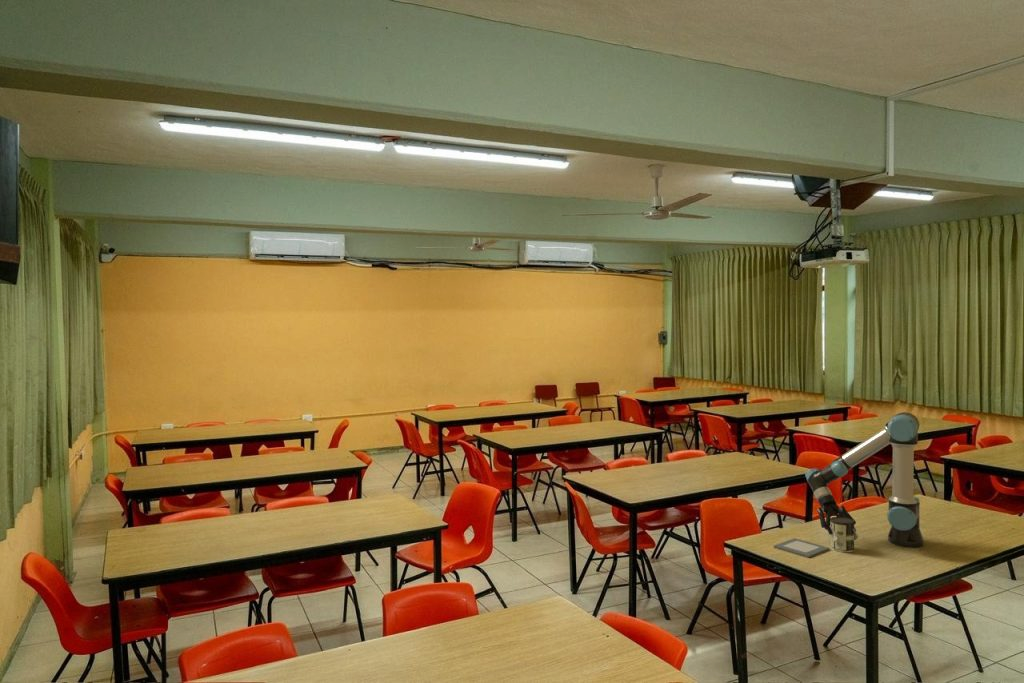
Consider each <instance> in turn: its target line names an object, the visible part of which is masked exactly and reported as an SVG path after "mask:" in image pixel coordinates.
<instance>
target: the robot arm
mask: <svg viewBox="0 0 1024 683" xmlns="http://www.w3.org/2000/svg"><path fill="white" fill-rule="evenodd" d="M919 428H920V421H919V419H918V418H917V416H915V414H912V413H910V412H899V413H897V414H896V415H894V416H893V417H891V419H889V421H888V422H886V423H885V424H884V427H883V428H881V429H880V430H878V431H877V432H876V433H874V434H871V436H869V437H868V438H866V439H864V440H863V441H861V442H860V443H858V444H857V445H856V446H854V447H852V448H851V449H850V450H849V449H848V451H846V452H845V453H843V454H842V455H840V456H839V457H837V458H834V460H832V461H831V462H830V463H829V464H828V465H827V466H824V467H823V468H821V469H819V468H816V467H815V468H812V469H809V470H806V472H805V474H804V475H805V478H806V481H807V483H808V485H809V486H810V489H811V490H812V492H813V494H814V497H815V499H816V500H817V502H818V504H819V506H820V507H819V508H817V509H816V511H817V514H818V516H819V521H820V525H821V528H823V529H824V530H827V532H828V534H829V535H830V537H831V536H832V538H833V540H834V542H836V541H837V540H838V537H837V535H836V533H835V531H834V529H833V527H832V526H831V520H830V519H831V518H832V517H845V518H850V519H852V520H854V541H857V539H859V535H858V533H857V529H856V527H855V524H856V523H857V522H856V520H855V519H854V518H853V516H852V515H851V514H850V513H849V512H848V511H847V509H846V507H845V506H844V505H841V506H839V505H837V501H836V500H835V498H834V495H833V493H832V491H831V490H830V488H829V486H828V485H829V484H831V483H832V482H834V481H837V480H838V479H840V478H843V477H844V476H845V475H847V474H848V472H849V470H851V469H852V468H854V467H855V466H857V465H859V464H860V463H861V462H863V461H865V460H867V459H868V458H870V457H872V456H873V455H875V454H876V453H877V452H879V451H881V450H883V449H884V448H885V447H887V446H889V445H891V446H892V481H891V482H892V483H891V484H892V488H891V489H892V492H891V493H892V494H891V496H889V498H888V510H887V514H886V515H887V516H886V517H887V522H888V523H889V525H891V527H890V528H889V531H888V534H887V541H888V542H889V543H891V544H894V545H897V546H901V547H907V548H919V547H923V546H924V543H925V542H924V540H925V539H924V537H923V535H922V532H921V529H920V505H921V502H920V499H919V498H918V497H917V496H914V475H915V474H914V473H915V472H914V470H915V469H914V466H915V464H914V463H915V462H914V458H915V457H914V456H915V455H914V454H915V453H914V451H915V450H914V449H915V447H916V446H918V443H919V442H918V441H919V439H918V438H919V434H918V433H919V432H918V431H919V430H920V429H919Z"/></svg>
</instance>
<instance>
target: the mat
mask: <svg viewBox="0 0 1024 683" xmlns="http://www.w3.org/2000/svg"><path fill="white" fill-rule="evenodd" d="M773 548H774V549H776V548H777V549H776V550H780V551H782V552H786V551H787V553H790V554H793V553H794V554H793V555H797V556H801V557H804V558H807V559H810V558H812V557H815V556H818V555H820V554H823V553H825V552H827V551H829V550H831V547H828V546H824V545H821V544H817V543H814V542H810V541H808V540H807V541H806V540H803V539H799V538H795V537H793V538H791V539H789V540H786V541H783V542H780V543H777V544H775V545H773Z"/></svg>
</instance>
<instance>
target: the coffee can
mask: <svg viewBox="0 0 1024 683" xmlns="http://www.w3.org/2000/svg"><path fill="white" fill-rule="evenodd" d="M830 520H831V521H830V527H831V526H832V527H833V529H834V531H835V533H836V535H837V537H838V540H837V541H836V542H834V540H833V538H832V536H831V535H830V550H831V549H832V551H836V552H840V553H853V552H854V551H855V540H854V527H855V525H854V520H855V519H854V520H852V519H850V518H845V517H836V516H831V519H830Z"/></svg>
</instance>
